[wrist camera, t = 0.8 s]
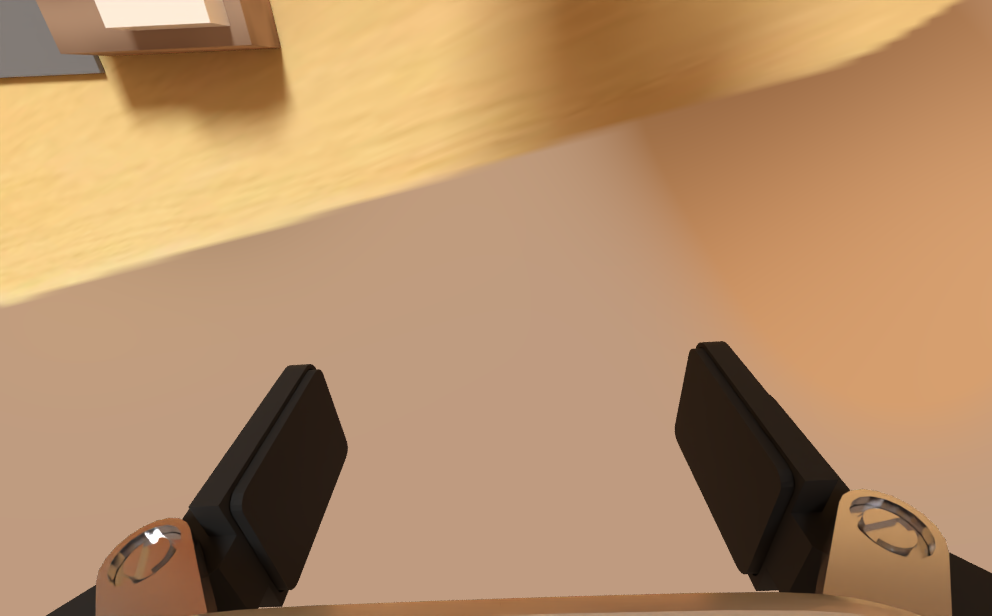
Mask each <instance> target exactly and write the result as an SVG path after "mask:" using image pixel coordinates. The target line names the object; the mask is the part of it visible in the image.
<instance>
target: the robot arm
mask: <svg viewBox="0 0 992 616" xmlns="http://www.w3.org/2000/svg"><path fill="white" fill-rule="evenodd" d="M675 435H676V439H677V442H678V444H679V446H680V448H681V450H682V452H683V455H684V457H685V459H686V461H687V463H688V465H689V467H690V469H691V471H692V474H693V476H694V478H695V480H696V482H697V484H698V486H699V488H700V490H701V492H702V494H703V496H704V499H705V501H706V503H707V505H708V507H709V509H710V511H711V513H712V516H713V518H714V520H715V522H716V524H717V526H718V528H719V530H720V532H721V534H722V537H723V539H724V541H725V543H726V545H727V547H728V549H729V551H730V553H731V555H732V558H733V560H734V562H735V564H736V566H737V568H738V569H739V571H740V572H741V573H743V574H748V575H749V577H750V579H751V582H752V584H753V586H754V588H755V589H756V591H769V590H779V592H745V593H679V594H678V593H677V594H644V595H643V594H641V595H608V596H607V595H605V596H571V597H541V598H540V597H538V598H508V599H477V600H451V601H450V600H448V601H420V602H396V603H395V602H394V603H367V604H343V605H316V606H299V607H298V606H297V607H282V605H283V603H284V600H285V598H286V595H287V593H288V590H292V589H293V588H295V586H296V585H297V583H298V581H299V578H300V575H301V573H302V570H303V568H304V565H305V562H306V560H307V557H308V555H309V552H310V550H311V547H312V544H313V542H314V539H315V537H316V534H317V531H318V529H319V526H320V524H321V521H322V518H323V516H324V513H325V511H326V508H327V506H328V503H329V500H330V498H331V495H332V493H333V490H334V487H335V485H336V482H337V480H338V477H339V474H340V472H341V469H342V467H343V464H344V462H345V459H346V456H347V451H348V446H347V441H346V438H345V435H344V432H343V429H342V427H341V424H340V421H339V418H338V415H337V412H336V409H335V407H334V404H333V401H332V398H331V395H330V392H329V389H328V387H327V384H326V381H325V378H324V375H323V373H322V371H321V370H316V368H315V367H314V366H313V365H311V364H306V365H290V366H287V367H286V368H285V370H284V371H283V373H282V374H281V375H280V377H279V378H278V380H277V381H276V383H275V384H274V385H273V387H272V388H271V390H270V391H269V393H268V394H267V395H266V397H265V398H264V400H263V401H262V403H261V404H260V406H259V407H258V408H257V410H256V411H255V413H254V414H253V416H252V417H251V418H250V420H249V421H248V423H247V424H246V425H245V427H244V428H243V430H242V431H241V433H240V434H239V435H238V437H237V439H236V440H235V441H234V443H233V444H232V445H231V447H230V448H229V450H228V451H227V453H226V454H225V455H224V457H223V458H222V460H221V461H220V463H219V464H218V466H217V467H216V468H215V470H214V471H213V473H212V474H211V476H210V477H209V479H208V480H207V481H206V483H205V484H204V486H203V487H202V488H201V490H200V491H199V493H198V494H197V496H196V497H195V498H194V500H193V501H192V503H191V504H190V506H189V510H188V512H187V513H186V515H185V516H184V517H183V519H180V518H166V519H162V520H157V521H155V522H152V523H150V524H148V525H146V526H143V527H142V528H140V529H138V530H137V531H136V532H134V533H132V534H130V535H129V536H128V537H127V538H125V539H124V540H123V541H122V542H121V543H119V544H118V545H117V546H116V547H115V548H114V549H113V550H112V552H111V553H110V554H109V555H108V556H107V558H106V559H105V560H104V562H103V564H102V566H101V567H100V569H99V571H98V575H97V580H96V585H95V586H93V587H92V588H90V589H88V590H87V591H85V592H84V593H82V594H80V595H79V596H77V597H76V598H74V599H72V600H71V601H69V602H67V603H66V604H64V605H63V606H61V607H59V608H58V609H56V610H55V611H53V612H51V613H50V614H48V615H46V616H992V573H990V572H988V571H986V570H984V569H982V568H980V567H978V566H976V565H973V564H972V563H969V562H968V561H966V560H964V559H962V558H960V557H957V556H956V555H953V554H951V553H949V550H948V546H947V543H946V539H945V538H944V536H943V535H942V533H941V532H940V531H939V529H938V528H937V526H936V525H935V524H934V523H933V522H932V521H930V520H929V519H928V518H927V517H926V516H925V515H924V514H923V513H921V512H920V511H918V510H917V509H916V508H914V507H913V506H911V505H910V504H908V503H906V502H904V501H902V500H900V499H898V498H896V497H894V496H892V495H888V494H885V493H882V492H879V491H874V490H867V489H858V490H851V491H850V490H849V488H848V487H847V486H846V485H845V483H844V482H843V481H842V480H841V479H840V477H839V476H838V475H837V474H836V473H835V471H834V470H833V469H832V468H831V467H830V465H829V464H828V463H827V462H826V461H825V459H824V458H823V457H822V456H821V454H819V452H818V451H817V450H816V448H815V447H814V446H813V445H812V444H811V442H810V441H809V440H808V439H807V438H806V436H805V435H804V434H803V433H802V431H801V430H800V429H799V428H798V427H797V426H796V424H795V423H794V422H793V421H792V419H791V418H790V417H789V416H788V415H787V413H786V412H785V411H784V410H783V409H782V407H781V406H780V405H779V404H778V403H777V401H776V400H775V399H774V398H773V397H772V396H771V395H769V394H768V393H767V392H766V390H765V389H764V388H763V387H762V385H761V384H760V383H759V382H758V381H757V379H756V378H755V377H754V376H753V374H752V373H751V372H750V371H749V370H748V369H747V367H746V366H745V365H744V364H743V362H742V361H741V360H740V359H739V358H738V356H737V355H736V354H735V353H734V351H733V350H732V349H731V348H730V346H728V344H727V343H725V342H723V341H720V342H703V343H699V344H698V345H697V346H696V349H691V350H690V352H689V356H688V361H687V367H686V372H685V377H684V382H683V387H682V392H681V398H680V402H679V408H678V413H677V418H676V423H675ZM259 607H281V608H264V609H263V608H262V609H258V608H259Z"/></svg>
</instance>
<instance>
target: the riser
mask: <svg viewBox="0 0 992 616" xmlns="http://www.w3.org/2000/svg"><path fill="white" fill-rule="evenodd" d="M36 2H37V4H38V6H39V9H40V11H41V13H42V15H43V17H44V19H45V21H46V24H47V26H48V28H49V30H50V32H51V34H52V36H53V39H54V41H55V43H56V45H57V47H58V49H59V51H60V53H61V54H75V55H101V56H121V55H142V54H163V53H184V52H206V51H227V50H248V49H269V48H281V46H280V42H279V38H278V34H277V30H276V26H275V22H274V18H273V14H272V10H271V6H270V2H269V0H223V3H224V7H225V10H226V14H227V17H228V21H229V24H230V26H221V27H201V28H180V29H160V30H139V31H129V30H120V29H111V28H106V27H105V25H104V23H103V20H102V18H101V15H100V13H99V10H98V8H97V6H96V3H95V1H94V0H36Z"/></svg>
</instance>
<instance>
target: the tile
mask: <svg viewBox="0 0 992 616" xmlns="http://www.w3.org/2000/svg"><path fill="white" fill-rule="evenodd" d="M94 1H95V3H96V6H97V8H98V10H99V13H100V15H101V18H102V20H103V23H104V25H105V27H106V28H111V29H120V30H129V31H139V30H160V29H180V28H201V27H221V26H230V24H229V21H228V17H227V14H226V10H225V7H224V3H223V0H94Z"/></svg>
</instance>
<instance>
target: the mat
mask: <svg viewBox="0 0 992 616" xmlns="http://www.w3.org/2000/svg"><path fill="white" fill-rule="evenodd" d="M92 73H105V71H104V69H103V67H102V64H101V62H100V60H99V57H98V55H75V54H61V53H60V51H59V49H58V47H57V45H56V43H55V41H54V39H53V36H52V34H51V32H50V30H49V28H48V26H47V24H46V21H45V19H44V17H43V15H42V13H41V11H40V9H39V6H38V4H37V2H36V0H0V78H6V77H28V76H49V75H70V74H92Z"/></svg>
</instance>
